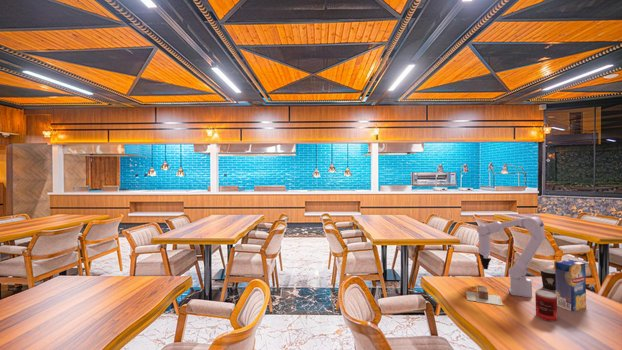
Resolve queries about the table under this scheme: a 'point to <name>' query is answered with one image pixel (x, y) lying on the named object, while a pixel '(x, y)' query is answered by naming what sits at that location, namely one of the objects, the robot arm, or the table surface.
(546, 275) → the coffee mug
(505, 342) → the table surface
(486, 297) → the walnut block
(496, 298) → the mat
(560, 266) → the blue cardboard box
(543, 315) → the canned food
